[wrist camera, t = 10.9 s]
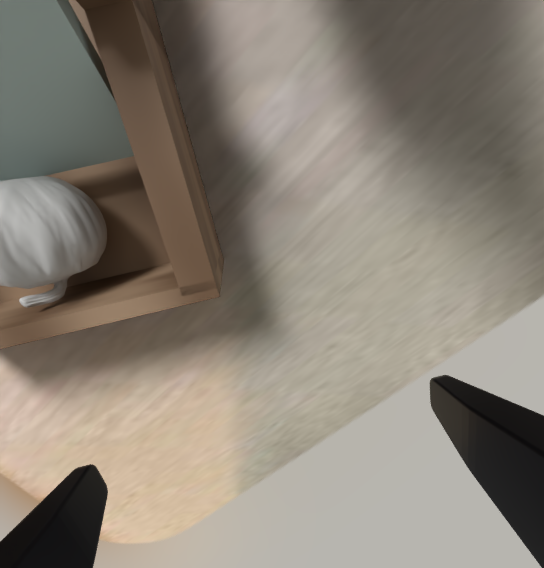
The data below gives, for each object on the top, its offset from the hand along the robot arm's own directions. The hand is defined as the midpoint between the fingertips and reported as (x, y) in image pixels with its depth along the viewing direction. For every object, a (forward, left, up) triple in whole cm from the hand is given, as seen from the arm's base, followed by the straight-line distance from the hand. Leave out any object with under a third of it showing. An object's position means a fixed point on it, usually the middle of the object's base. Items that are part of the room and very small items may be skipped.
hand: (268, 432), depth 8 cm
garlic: (+9, -8, -8) cm, 14 cm away
